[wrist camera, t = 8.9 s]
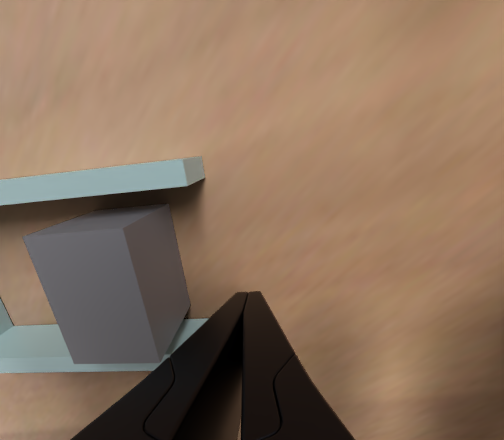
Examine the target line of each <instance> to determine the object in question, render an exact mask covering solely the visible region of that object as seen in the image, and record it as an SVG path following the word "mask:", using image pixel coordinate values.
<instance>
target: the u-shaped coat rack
mask: <svg viewBox="0 0 504 440" xmlns="http://www.w3.org/2000/svg"><path fill="white" fill-rule="evenodd" d="M203 178H205V174H204V168H203V162H202V156H199V157H191V158H182V159H173V160H165V161H156V162H148V163H139V164H131V165H122V166H114V167H105V168H96V169H88V170H79V171H71V172H62V173H54V174H45V175H37V176H28V177H19V178H11V179H2V180H0V205H9V204H18V203H28V202H38V201H48V200H57V199H67V198H77V197H86V196H96V195H106V194H115V193H125V192H135V191H144V190H154V189H164V188H173V187H183V186H189V185H191V184H193V183H195V182H197V181H199V180H201V179H203ZM208 319H209V318H204V319H183V321H182V323H181V324H180V326H179V328H178V330H177V332H176V334H175V336H174V338H173V340H172V342H171V343H170V345H169V347H168V349H167V351H166V353H165V355H164V357H163V359H162V361H161V362H160V363H126V364H74V363H73V360H72V358H71V355H70V353H69V350H68V348H67V345H66V343H65V341H64V338H63V336H62V333H61V331H60V328H59V326H58V324H52V325H27V326H13V324H12V322H11V320H10V318H9V316H8V314H7V311H6V309H5V307H4V305H3V303H2V301H1V299H0V373H37V372H104V371H154V370H155V369H156V368H157V367H158V366H159V365H160V364H161V363H162V362H163V361H164V360H165V359H166V358H168V357H169V358H170V355H171V354H172V353H173V352H174V351H175V350H176V349H177V348H178V347H179V346H180V345H181V344H182V343H184V342H185V341H186V340H187V339H188V338H189V337H190V336H191V335H192V334H193V333H194V332H195V331H196V330H197V329H198V328H199V327H201V326H202V325H203V324H204V323H205V322H206V321H207V320H208Z"/></svg>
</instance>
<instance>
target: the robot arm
mask: <svg viewBox="0 0 504 440" xmlns="http://www.w3.org/2000/svg"><path fill="white" fill-rule="evenodd" d="M240 418H241V440H355V439H354V437H353V436H352V435H351V433H350V432H349V431H348V429H347V428H346V427H345V425H344V424H343V423H342V421H341V420H340V419H339V417H338V416H337V415H336V413H335V412H334V411H333V410H332V408H331V407H330V406H329V404H328V403H327V402H326V400H325V399H324V397H323V396H322V395H321V393H320V392H319V390H318V389H317V388H316V386H315V385H314V383H313V382H312V380H311V379H310V377H309V376H308V374H307V372H306V371H305V369H304V367H303V366H302V364H301V362H300V360H299V359H298V357H297V355H296V354H295V352H294V350H293V348H292V346H291V345H290V343H289V341H288V339H287V338H286V336H285V334H284V332H283V330H282V329H281V327H280V325H279V323H278V322H277V320H276V318H275V316H274V314H273V313H272V311H271V309H270V307H269V306H268V304H267V302H266V300H265V298H264V297H263V295H262V293H261V292H260V291H254V292H249V293H248V292H237V293H235V294H234V295H233V296H232V297H231V298H230V299H229V300H228V301H227V302H226V303H225V304H224V305H223V306H222V307H221V308H220V309H219V310H217V311H216V312H215V313H214V314H213V315H212V316H211V317H210V318H209V319H208V320H207V321H206V322H205V323H204V324H203V325H202V326H201V327H199V328H198V329H197V330H196V331H195V332H194V333H193V334H192V335H191V336H190V337H189V338H188V339H187V340H186V341H185V342H184V343H182V344H181V345H180V346H179V347H178V348H177V349H176V350H175V351H174V352H173V353H172V354H171V355H170V358H169V357H168V358H166V359H165V360H164V361H163V362H162V363H161V364H160V365H159V366H158V367H157V368H156V369H155V370H154V371H152V372H151V373H150V374H149V375H148V376H147V377H146V378H145V379H144V380H142V381H141V382H140V383H139V384H138V385H137V386H135V387H134V388H133V389H132V390H131V391H129V392H128V393H127V394H126V395H125V396H123V397H122V398H121V399H120V400H119V401H117V402H116V403H115V404H114V405H112V406H111V407H110V408H109V409H108V410H106V411H105V412H104V413H103V414H101V415H100V416H99V417H98V418H96V419H95V420H94V421H93V422H91V423H90V424H89V425H88V426H87V427H85V428H84V429H83V430H82V431H80V432H79V433H78V434H77V435H75V436H74V437H73V438H72V439H70V440H237V437H238V431H239V425H240Z"/></svg>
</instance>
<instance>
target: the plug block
mask: <svg viewBox="0 0 504 440" xmlns="http://www.w3.org/2000/svg"><path fill="white" fill-rule="evenodd" d="M23 240H24V242H25V245H26V247H27V250H28V252H29V255H30V257H31V260H32V262H33V264H34V267H35V269H36V272H37V274H38V277H39V279H40V282H41V284H42V287H43V289H44V291H45V294H46V296H47V299H48V301H49V304H50V306H51V309H52V311H53V314H54V316H55V318H56V321H57V323H58V326H59V328H60V331H61V333H62V336H63V338H64V341H65V343H66V345H67V348H68V350H69V353H70V355H71V358H72V360H73V363H74V364H126V363H160V362H161V361H162V359H163V357H164V355H165V353H166V351H167V349H168V347H169V345H170V343H171V342H172V340H173V338H174V336H175V334H176V332H177V330H178V328H179V326H180V324H181V323H182V321H183V319H184V317H185V315H186V313H187V311H188V309H189V307H190V305H191V304H190V299H189V295H188V290H187V286H186V281H185V276H184V272H183V267H182V262H181V258H180V253H179V249H178V244H177V239H176V235H175V230H174V226H173V221H172V216H171V212H170V207H169V203H168V204H157V205H147V206H137V207H126V208H116V209H105V210H95V211H93V212H90V213H87V214H84V215H82V216H79V217H76V218H73V219H70V220H68V221H65V222H62V223H59V224H56V225H54V226H51V227H48V228H45V229H42V230H40V231H37V232H34V233H31V234H29V235H26V236H23Z"/></svg>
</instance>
